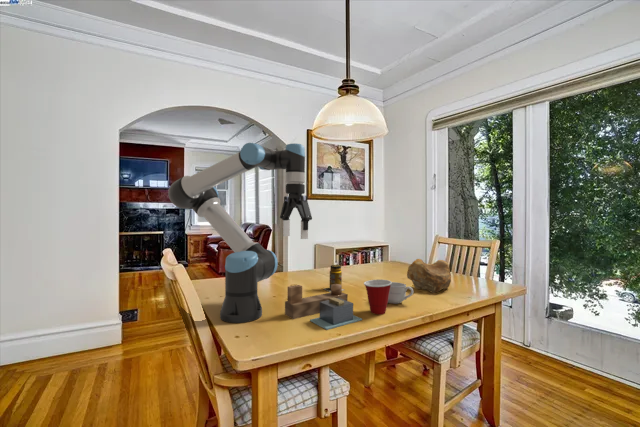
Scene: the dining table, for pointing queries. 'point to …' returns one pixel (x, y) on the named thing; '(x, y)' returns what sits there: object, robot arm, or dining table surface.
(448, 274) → the rough brown rock
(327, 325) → the rubber mat
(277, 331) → the dining table surface
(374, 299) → the plastic cup
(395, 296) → the teacup
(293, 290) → the plane body
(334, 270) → the condiment
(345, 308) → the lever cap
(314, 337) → the dining table surface
